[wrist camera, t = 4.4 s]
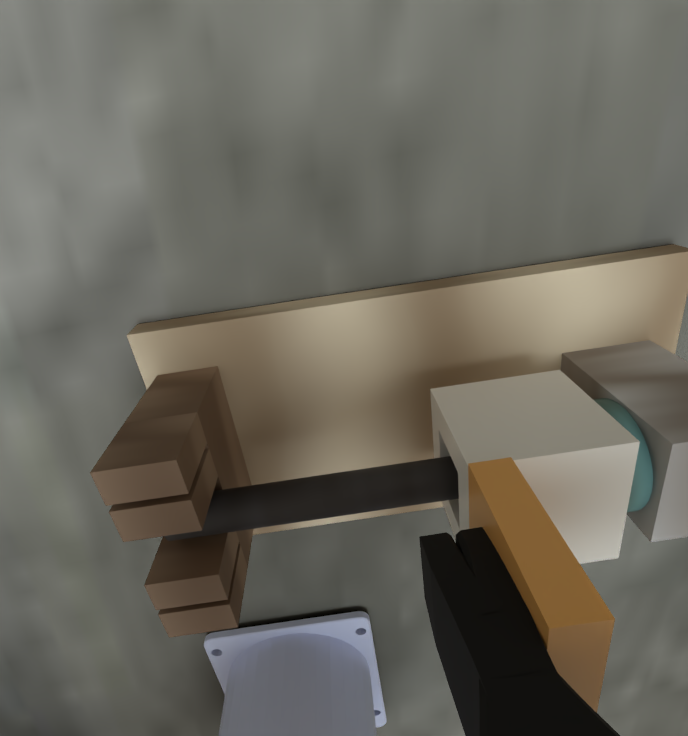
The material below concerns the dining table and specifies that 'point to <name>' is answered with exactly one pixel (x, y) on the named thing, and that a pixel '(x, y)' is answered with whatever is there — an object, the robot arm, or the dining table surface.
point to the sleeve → (543, 501)
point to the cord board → (376, 408)
